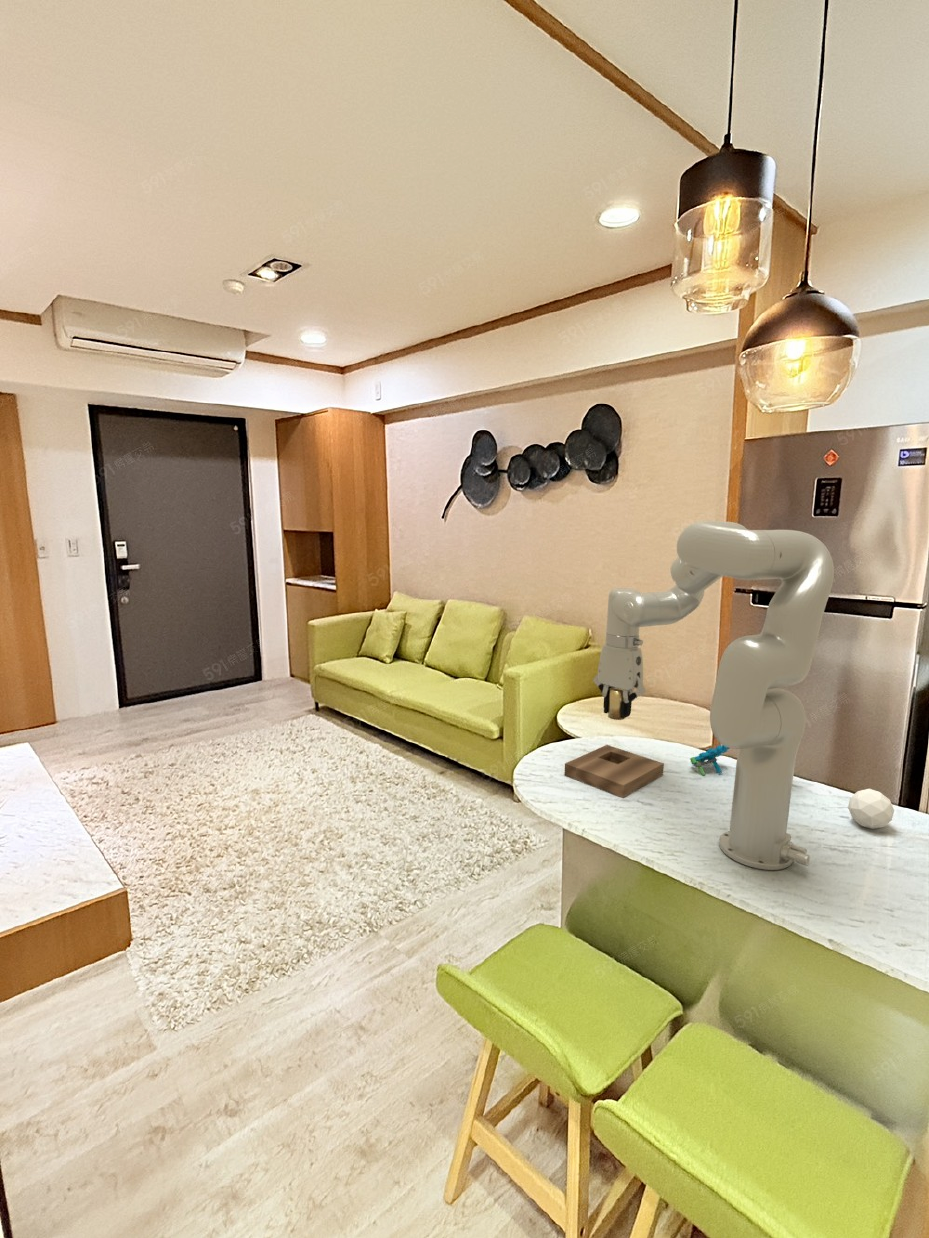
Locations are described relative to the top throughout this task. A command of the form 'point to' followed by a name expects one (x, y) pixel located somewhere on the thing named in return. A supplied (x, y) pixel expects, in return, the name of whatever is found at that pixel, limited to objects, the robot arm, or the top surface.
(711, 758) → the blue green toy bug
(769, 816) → the robot arm
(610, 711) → the brass cylinder
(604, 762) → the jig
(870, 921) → the top surface
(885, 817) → the geometric ball
